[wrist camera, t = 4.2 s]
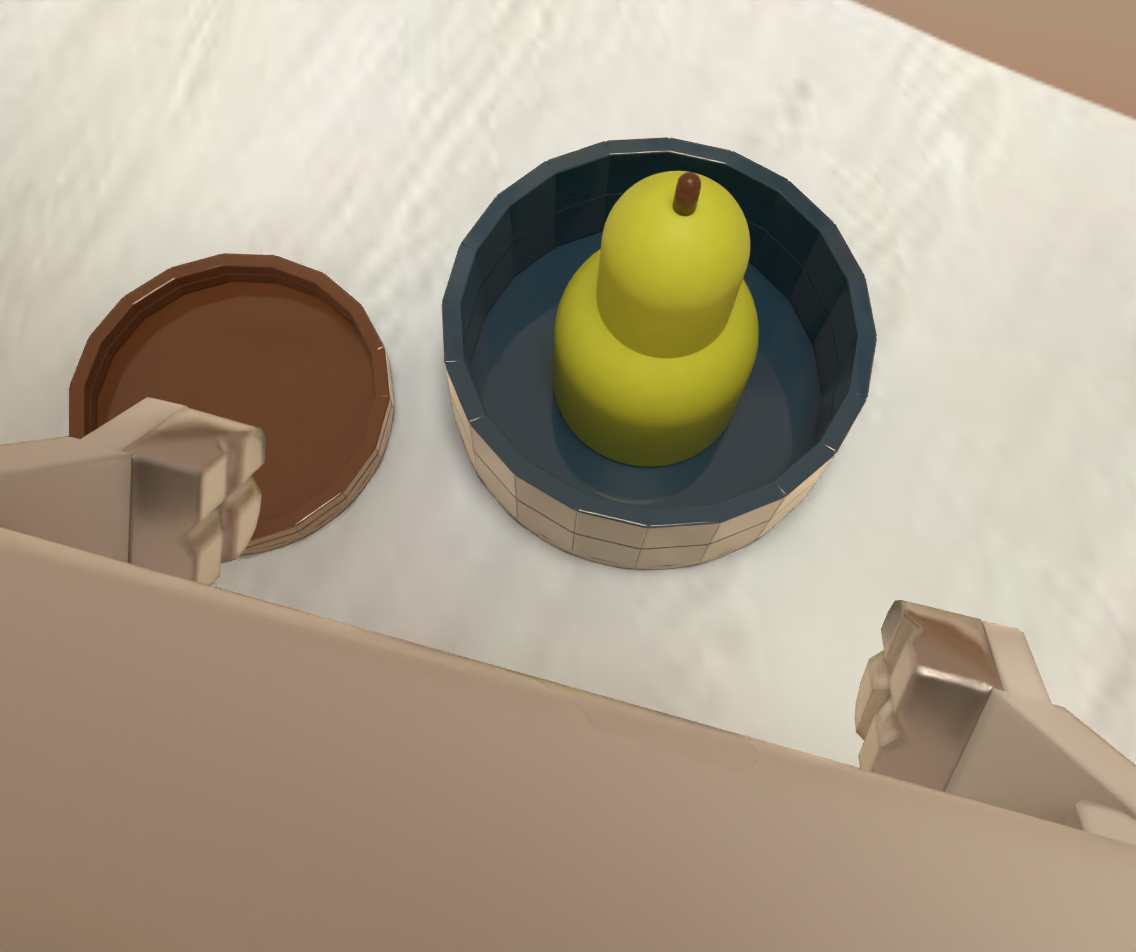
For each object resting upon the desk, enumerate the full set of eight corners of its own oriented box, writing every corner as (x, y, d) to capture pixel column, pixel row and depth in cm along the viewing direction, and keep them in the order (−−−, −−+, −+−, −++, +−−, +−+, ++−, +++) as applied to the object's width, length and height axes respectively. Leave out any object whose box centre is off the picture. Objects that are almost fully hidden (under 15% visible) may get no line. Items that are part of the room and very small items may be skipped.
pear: (517, 407, 37) (508, 212, 26) (613, 267, 39) (642, 30, 28) (680, 502, 36) (744, 341, 25) (771, 353, 38) (867, 143, 27)
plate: (20, 456, 36) (-1, 440, 35) (214, 226, 40) (202, 203, 38) (271, 617, 35) (260, 606, 33) (453, 364, 38) (449, 345, 37)
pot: (379, 442, 37) (356, 381, 32) (580, 164, 41) (586, 74, 36) (719, 645, 35) (747, 611, 30) (896, 333, 39) (945, 260, 34)
